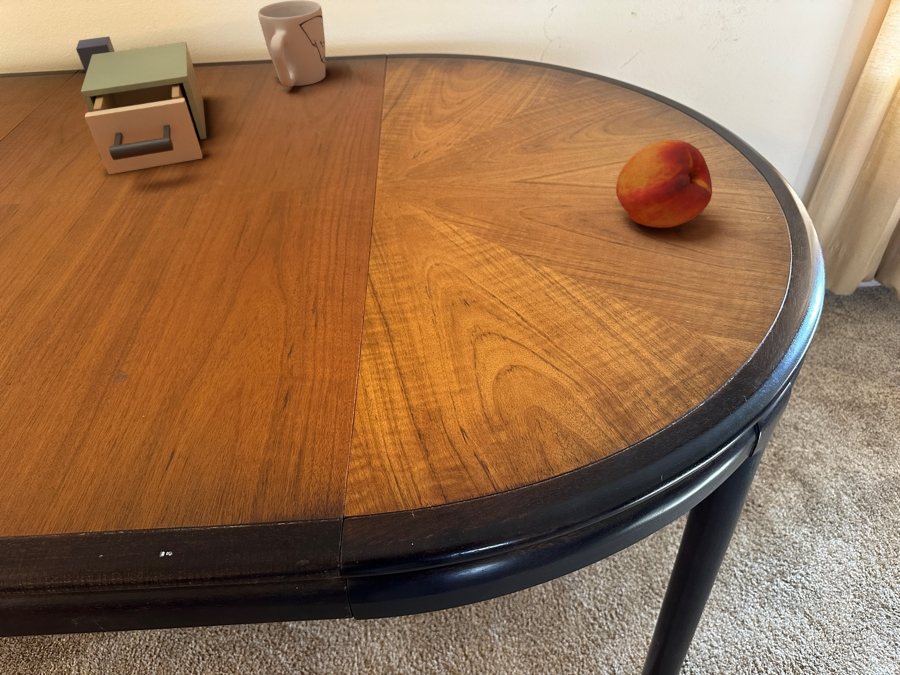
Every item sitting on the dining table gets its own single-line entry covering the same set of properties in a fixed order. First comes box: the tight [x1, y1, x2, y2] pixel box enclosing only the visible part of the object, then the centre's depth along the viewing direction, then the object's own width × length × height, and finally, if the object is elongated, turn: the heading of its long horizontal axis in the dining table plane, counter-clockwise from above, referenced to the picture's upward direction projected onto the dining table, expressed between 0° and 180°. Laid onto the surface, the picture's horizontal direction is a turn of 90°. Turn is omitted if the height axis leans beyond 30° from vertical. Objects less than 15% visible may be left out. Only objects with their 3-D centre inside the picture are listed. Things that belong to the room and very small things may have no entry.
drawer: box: [84, 83, 203, 175], centre depth 74 cm, size 18×10×7 cm, turn 18°
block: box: [75, 36, 116, 73], centre depth 100 cm, size 4×4×4 cm
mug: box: [257, 0, 326, 88], centre depth 89 cm, size 11×8×10 cm
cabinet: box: [80, 41, 207, 140], centre depth 80 cm, size 13×11×8 cm
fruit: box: [615, 139, 713, 229], centre depth 59 cm, size 8×8×8 cm
